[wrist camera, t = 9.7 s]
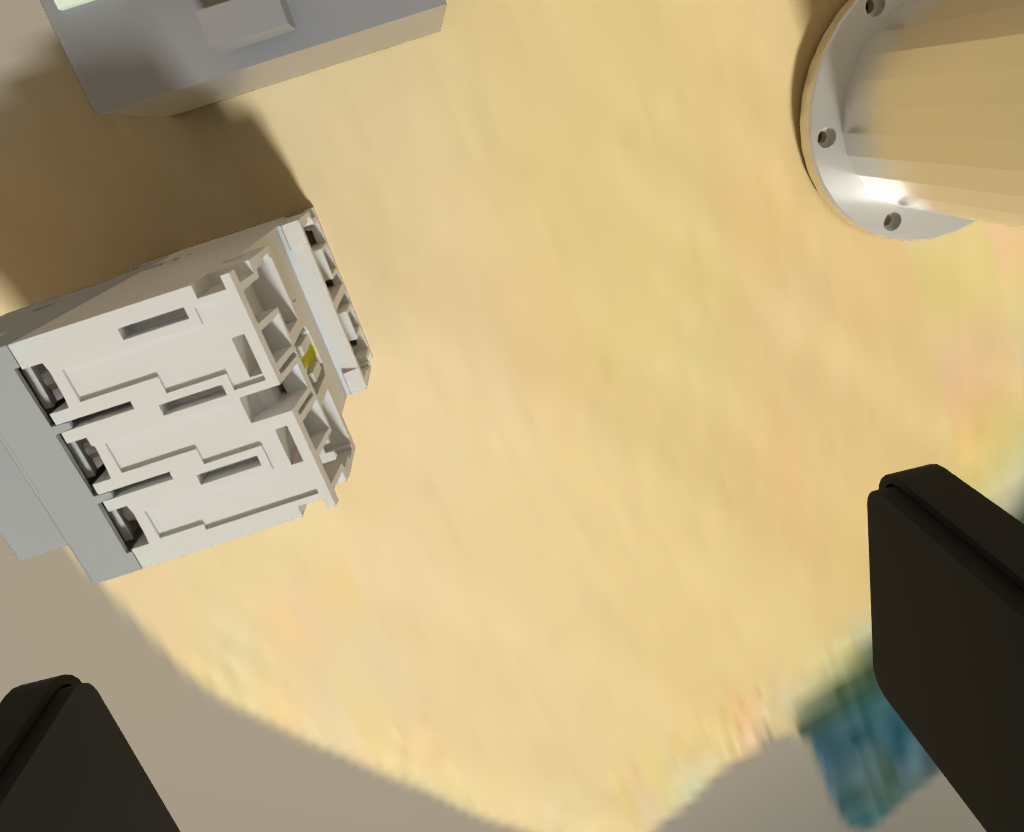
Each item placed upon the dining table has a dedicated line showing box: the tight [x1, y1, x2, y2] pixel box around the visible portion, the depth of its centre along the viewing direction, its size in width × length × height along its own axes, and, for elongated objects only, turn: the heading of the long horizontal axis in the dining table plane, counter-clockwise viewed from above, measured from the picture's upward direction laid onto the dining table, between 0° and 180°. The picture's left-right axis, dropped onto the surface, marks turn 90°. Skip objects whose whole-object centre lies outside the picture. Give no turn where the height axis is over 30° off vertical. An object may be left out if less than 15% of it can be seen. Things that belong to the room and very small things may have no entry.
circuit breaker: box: [0, 207, 373, 584], centre depth 28 cm, size 8×14×15 cm, turn 107°
